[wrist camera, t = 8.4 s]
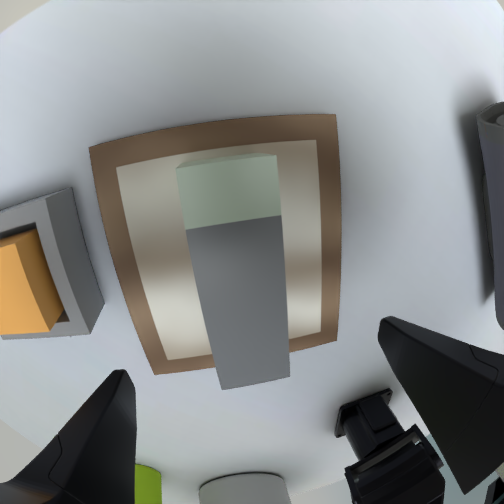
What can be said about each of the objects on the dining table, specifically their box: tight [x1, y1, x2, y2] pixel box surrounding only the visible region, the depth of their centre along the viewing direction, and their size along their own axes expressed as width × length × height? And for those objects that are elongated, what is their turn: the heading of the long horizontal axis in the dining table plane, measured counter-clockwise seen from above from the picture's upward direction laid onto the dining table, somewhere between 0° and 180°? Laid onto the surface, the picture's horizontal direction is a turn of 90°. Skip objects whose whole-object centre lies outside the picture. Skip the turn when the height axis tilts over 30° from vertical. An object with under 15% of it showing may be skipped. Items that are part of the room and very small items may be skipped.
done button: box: [0, 228, 65, 335], centre depth 12 cm, size 5×5×3 cm
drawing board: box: [89, 114, 341, 375], centre depth 17 cm, size 16×14×1 cm
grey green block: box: [175, 153, 290, 390], centre depth 15 cm, size 12×4×4 cm, turn 6°
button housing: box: [0, 187, 104, 340], centre depth 14 cm, size 8×8×4 cm
